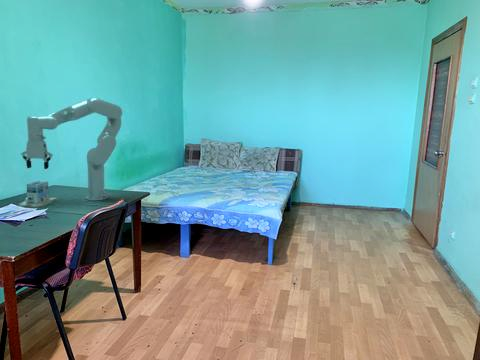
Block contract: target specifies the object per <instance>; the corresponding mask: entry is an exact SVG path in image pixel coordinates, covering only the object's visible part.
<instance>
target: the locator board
mask: <svg viewBox="0 0 480 360" xmlns="http://www.w3.org/2000/svg"><path fill="white" fill-rule="evenodd" d="M58 200H59V197H49V199H48V200H45V201H42V202H39V203H38V204H37V205H35V203H32V202H29V204H26V200H24V201H22V202H19V203H17V207H29V208H45V207H46V206H48V205H50V204H52V203H55V202H57V201H58Z"/></svg>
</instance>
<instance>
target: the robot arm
mask: <svg viewBox="0 0 480 360" xmlns="http://www.w3.org/2000/svg"><path fill="white" fill-rule="evenodd" d="M94 113H95V114H98V115H101V116H103V117H106V119H107V120H106V124H105V125H104V127H103V129H102V131H101V132H100V134H99V135H98V137H97V139H96V143H97V144H96V146H95V147H92V148H90V149H89V150H88V151H87V153H86V163H87V192H88V193H87V195H86V196H85V200H87V201H93V202H94V201H95V202H96V201H104V200H106V199H108V198H109V197H111V196H112V193H110V192H107V190H105V164H106V163H107V162H108V160H109V158H110V157H111V156H112V153H113V152H114V150H115V148H116V147H117V140H116V139H117V135H118V134H119V132H120V130H121V127H122V116H123V109H122V107H120V106H119V105H117V104H114V103H112V102H109V101H107V100H103V99H101V98H98V97H89V98H86V99H84V100H82V101H79V102H77V103H74V104H72V105H69V106H67V107H64V108H62V109H60V110H57V111H55V112H52V113H50V114H47V115H45V116H39V115H29V116H27V118H26V124H27V125H26V126H27V139H28V140H27V141H26V150H25V151H23V152H21V153H20V155H21V156H22V158H23V160H24V161H25V162H26V168H27V169H31V168H32V160H31V159H39V160H40V159H41V160H43V169H44V170H47V169H49V167H50V166H49V163H50V160H51V159H52V157H53V154H52V153H51V152H49V151H48V146H47V143H46V140H45V139H46V136H44V130H47V131H52V130H55V129H57V127H59V126H60V125H61V124H65V123H67V122H72V121H78V120H81V119H82V118H85V117H87V116H90V115H92V114H94Z"/></svg>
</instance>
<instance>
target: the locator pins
mask: <svg viewBox="0 0 480 360" xmlns="http://www.w3.org/2000/svg"><path fill="white" fill-rule="evenodd" d="M34 199H35V205H37V204H38V202H37V198H34ZM25 201H26V204H29V200H28V198H27V197H25Z"/></svg>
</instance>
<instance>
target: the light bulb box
mask: <svg viewBox="0 0 480 360" xmlns="http://www.w3.org/2000/svg"><path fill="white" fill-rule="evenodd" d="M26 198H28V200H29V202H32V203H35V199H34V198H37V202H38V203H39V202H42V201H45V200H48V199H49V198H50V197H49V181H45V180H36V181H32V182H28V183H26Z"/></svg>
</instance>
